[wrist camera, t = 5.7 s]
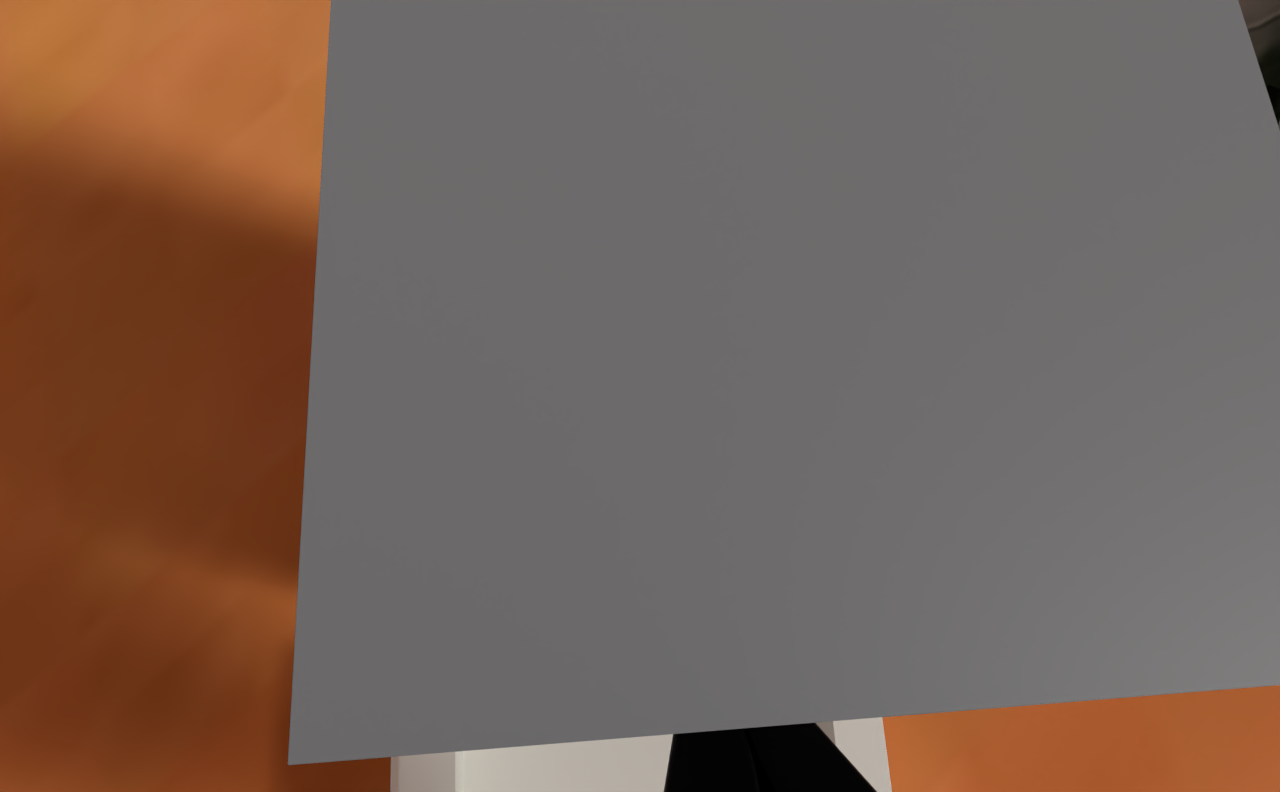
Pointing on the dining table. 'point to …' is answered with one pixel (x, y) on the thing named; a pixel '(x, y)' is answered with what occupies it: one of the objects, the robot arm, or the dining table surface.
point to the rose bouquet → (1266, 43)
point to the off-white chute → (602, 764)
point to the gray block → (783, 366)
